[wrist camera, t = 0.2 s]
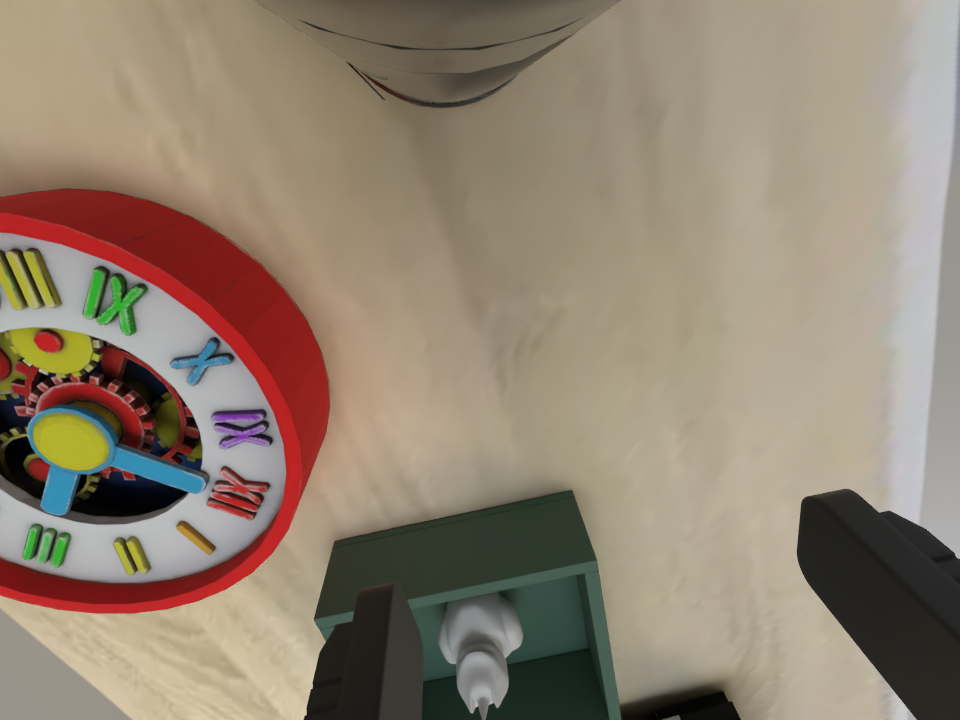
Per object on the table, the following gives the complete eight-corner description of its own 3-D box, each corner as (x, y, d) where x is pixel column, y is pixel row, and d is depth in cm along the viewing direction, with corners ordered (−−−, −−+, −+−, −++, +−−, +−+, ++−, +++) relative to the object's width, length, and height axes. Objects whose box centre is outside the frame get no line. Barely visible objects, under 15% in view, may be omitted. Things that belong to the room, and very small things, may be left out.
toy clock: (-238, 84, 15) (376, 362, 20) (-59, 95, 20) (390, 313, 25) (-234, 535, 22) (223, 655, 27) (-102, 455, 27) (259, 568, 32)
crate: (334, 541, 32) (313, 619, 27) (572, 490, 31) (596, 560, 26) (401, 684, 38) (395, 769, 33) (598, 644, 38) (622, 724, 33)
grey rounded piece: (505, 563, 33) (523, 686, 25) (526, 626, 36) (548, 753, 28) (427, 582, 33) (422, 710, 26) (454, 643, 36) (457, 774, 29)
